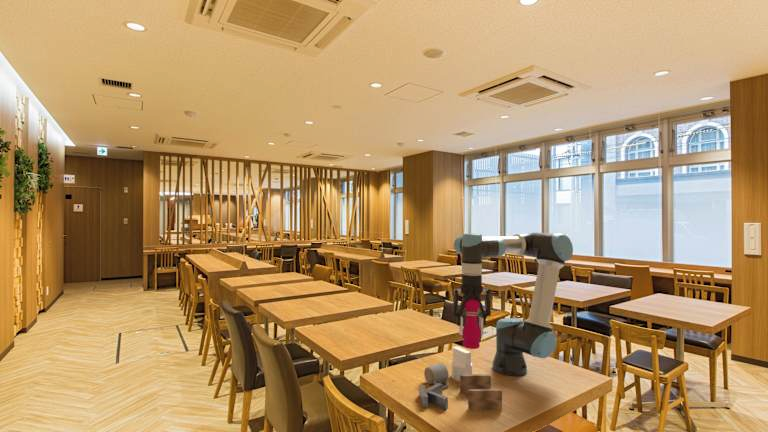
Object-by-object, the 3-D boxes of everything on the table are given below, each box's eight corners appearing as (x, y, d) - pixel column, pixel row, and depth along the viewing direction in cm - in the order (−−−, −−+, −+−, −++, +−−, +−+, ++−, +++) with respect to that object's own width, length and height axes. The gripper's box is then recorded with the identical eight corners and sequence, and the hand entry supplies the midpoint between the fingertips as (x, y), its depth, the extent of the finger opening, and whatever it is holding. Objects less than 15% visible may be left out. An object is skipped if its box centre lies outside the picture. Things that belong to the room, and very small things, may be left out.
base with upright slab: (447, 375, 175) (447, 348, 175) (462, 371, 179) (462, 345, 179) (460, 383, 167) (460, 354, 167) (476, 378, 171) (476, 351, 171)
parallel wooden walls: (489, 391, 159) (489, 374, 159) (502, 409, 144) (502, 390, 144) (460, 391, 158) (460, 374, 158) (469, 410, 143) (469, 391, 143)
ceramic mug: (422, 381, 169) (423, 363, 169) (438, 377, 172) (439, 360, 172) (436, 391, 159) (437, 372, 159) (453, 387, 163) (453, 369, 163)
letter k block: (441, 392, 158) (441, 382, 158) (448, 409, 144) (448, 398, 144) (418, 393, 157) (418, 382, 157) (423, 410, 143) (423, 399, 143)
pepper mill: (481, 350, 146) (482, 296, 147) (461, 348, 148) (462, 295, 148) (480, 344, 154) (481, 292, 154) (461, 342, 155) (462, 291, 155)
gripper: (494, 272, 155) (493, 331, 155) (443, 272, 154) (443, 331, 154) (500, 275, 148) (500, 337, 147) (447, 275, 147) (447, 337, 146)
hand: (471, 334), depth 151 cm, fingers closed on pepper mill, 7 cm apart
